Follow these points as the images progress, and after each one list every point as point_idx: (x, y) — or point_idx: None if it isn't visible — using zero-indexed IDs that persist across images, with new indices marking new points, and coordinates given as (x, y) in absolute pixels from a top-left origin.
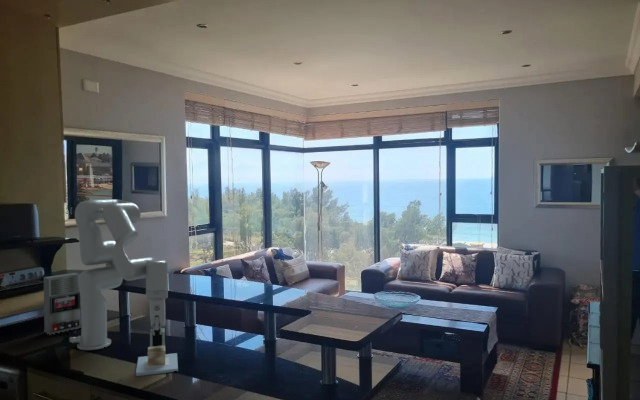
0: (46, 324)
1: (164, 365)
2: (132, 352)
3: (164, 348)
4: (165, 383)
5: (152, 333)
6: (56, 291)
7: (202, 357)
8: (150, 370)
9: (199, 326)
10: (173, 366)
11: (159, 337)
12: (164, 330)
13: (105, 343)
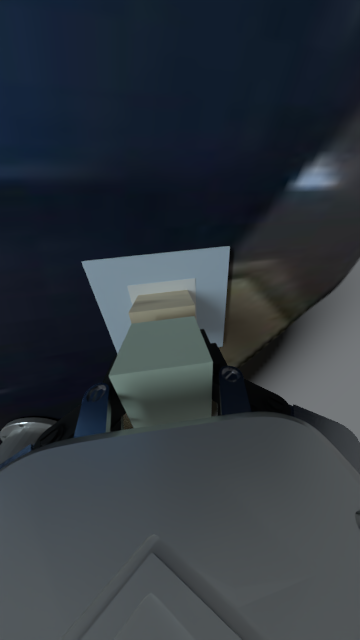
0: None
1: (194, 291)
2: (72, 374)
3: (166, 311)
4: (291, 274)
5: (210, 407)
6: None
7: (99, 132)
8: (216, 320)
9: None
10: (207, 263)
11: (225, 362)
12: (174, 367)
13: (38, 426)
